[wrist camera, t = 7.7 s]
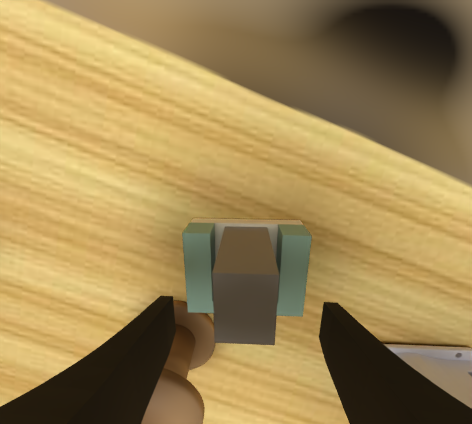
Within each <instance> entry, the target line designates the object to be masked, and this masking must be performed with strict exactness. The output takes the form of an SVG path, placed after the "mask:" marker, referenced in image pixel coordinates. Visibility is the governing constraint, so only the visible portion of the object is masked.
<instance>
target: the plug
mask: <svg viewBox="0 0 472 424" xmlns="http://www.w3.org/2000/svg"><path fill="white" fill-rule="evenodd" d="M212 278H213V310H214V342H215V343H237V344H260V345H275V330H276V316H277V301H278V287H279V271H278V268H277V264H276V260H275V256H274V252H273V248H272V244H271V240H270V236H269V232H268V228H267V227H235V226H225V228H224V231H223V235H222V239H221V243H220V246H219V250H218V254H217V257H216V261H215V265H214V269H213V272H212Z"/></svg>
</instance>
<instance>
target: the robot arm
mask: <svg viewBox="0 0 472 424" xmlns="http://www.w3.org/2000/svg"><path fill="white" fill-rule="evenodd" d="M175 333H176V325H175V314H174V303H173V296H160V297H159V298H158V299H157V300H155V301H154V302H153V303H152V304H151V305H150V306H149V307H147V308H146V309H145V310H144V311H143V312H142V313H141V314H140V315H138V316H137V317H136V318H135V319H134V320H133V321H131V322H130V323H129V324H128V325H127V326H125V327H124V328H123V329H122V330H120V331H119V332H118V333H117V334H115V335H114V336H113V337H112V338H110V339H109V340H108V341H106V342H105V343H104V344H102V345H101V346H100V347H98V348H97V349H96V350H94V351H93V352H91V353H90V354H89V355H87V356H86V357H84V358H83V359H81V360H80V361H78V362H77V363H75V364H74V365H72V366H71V367H69V368H67V369H66V370H64V371H62V372H61V373H59V374H58V375H56V376H54V377H53V378H51V379H49V380H48V381H46V382H44V383H43V384H41V385H39V386H38V387H36V388H34V389H32V390H30V391H29V392H27V393H25V394H23V395H22V396H20V397H18V398H16V399H14V400H12V401H10V402H8V403H7V404H5V405H3V406H1V407H0V424H141V423H142V420H143V417H144V415H145V412H146V409H147V407H148V404H149V402H150V399H151V397H152V395H153V392H154V390H155V387H156V385H157V383H158V380H159V378H160V375H161V373H162V371H163V368H164V366H165V363H166V361H167V358H168V356H169V353H170V350H171V347H172V343H173V340H174V336H175ZM319 339H320V343H321V347H322V351H323V354H324V358H325V361H326V364H327V367H328V369H329V372H330V374H331V377H332V380H333V382H334V385H335V387H336V390H337V392H338V395H339V397H340V400H341V403H342V405H343V408H344V410H345V413H346V415H347V418H348V420H349V423H350V424H472V348H468V347H444V346H420V345H397V344H383V343H381V342H380V341H379V340H378V339H377V338H376V337H374V336H373V335H372V334H371V333H370V332H369V331H368V330H367V329H365V328H364V327H363V326H362V325H361V324H360V323H359V322H358V321H357V320H356V319H354V318H353V317H352V316H351V315H350V314H349V313H348V312H347V311H346V310H345V309H344V308H343V307H341V306H340V305H339V304H338V303H330V302H324V305H323V312H322V319H321V327H320V334H319Z"/></svg>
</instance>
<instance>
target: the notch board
mask: <svg viewBox="0 0 472 424" xmlns="http://www.w3.org/2000/svg"><path fill="white" fill-rule="evenodd" d="M225 226H235V227H267V228H268V232H269V236H270V240H271V244H272V248H273V252H274V256H275V260H276V264H277V268H278V271H279V287H278V301H277V316H303V309H304V300H305V291H306V282H307V273H308V264H309V255H310V247H311V238H312V236H311V234H310V233H309V232H308V230H307V229H306V227H305V226H304V225H303V223H302V222H301V220H270V219H216V218H193V219H192V221H191V222H190V223H189V225H188V226H187V227H186V229H185V230H184V231H183V233H182V236H183V250H184V264H185V278H186V292H187V306H188V312H196V313H214V310H213V278H212V272H213V269H214V265H215V261H216V257H217V254H218V250H219V246H220V243H221V239H222V235H223V231H224V228H225Z"/></svg>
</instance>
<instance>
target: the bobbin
mask: <svg viewBox="0 0 472 424" xmlns="http://www.w3.org/2000/svg"><path fill="white" fill-rule="evenodd" d="M173 303H174V314H175V325H176V333H175V336H174V340H173V343H172V347H171V350H170V353H169V356H168V358H167V361H166V363H165V366H164V368H163V371H162V373H161V375H160V378H159V380H158V383H157V385H156V387H155V390H154V392H153V395H152V397H151V399H150V402H149V404H148V407H147V409H146V412H145V415H144V417H143V420H142V423H141V424H203V418H204V403H203V400H202V397H201V395H200V393H199V392H198V391H197V389H196V388H195V387H194V386H193V385H192V384H191V383H190V382H189V381H188V380H187V375H188V371H189V370H191V369H194V368H197V367H199V366H201V365H203V364H204V363H205V362H207V361H208V360H209V358H210V357H211V355H212V354H213V351H214V348H215V342H214V324H213V322H212V320H211V319H210V317H209V316H208V315H207V314H206V313H196V312H188V306H187V302H183V301H173Z"/></svg>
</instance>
